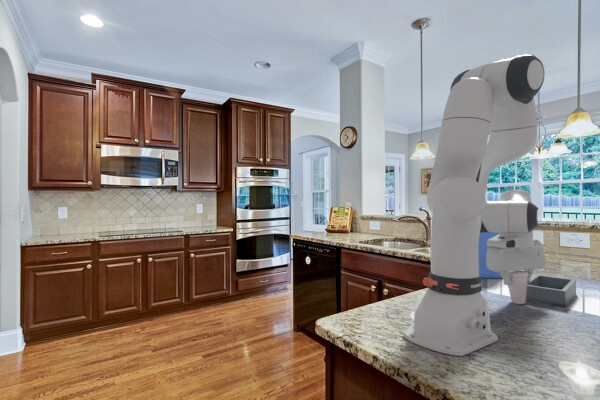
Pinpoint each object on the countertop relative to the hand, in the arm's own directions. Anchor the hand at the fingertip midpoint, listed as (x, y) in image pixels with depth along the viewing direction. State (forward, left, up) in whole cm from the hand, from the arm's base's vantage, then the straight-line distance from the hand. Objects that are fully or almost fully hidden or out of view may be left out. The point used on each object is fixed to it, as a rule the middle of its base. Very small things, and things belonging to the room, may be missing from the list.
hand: (516, 283), depth 100 cm
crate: (+14, -6, -6) cm, 16 cm away
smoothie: (0, 0, -6) cm, 6 cm away
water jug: (+34, +21, -6) cm, 40 cm away
